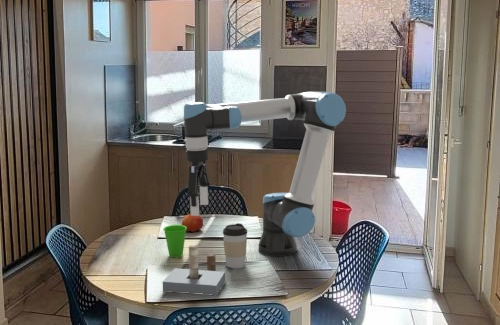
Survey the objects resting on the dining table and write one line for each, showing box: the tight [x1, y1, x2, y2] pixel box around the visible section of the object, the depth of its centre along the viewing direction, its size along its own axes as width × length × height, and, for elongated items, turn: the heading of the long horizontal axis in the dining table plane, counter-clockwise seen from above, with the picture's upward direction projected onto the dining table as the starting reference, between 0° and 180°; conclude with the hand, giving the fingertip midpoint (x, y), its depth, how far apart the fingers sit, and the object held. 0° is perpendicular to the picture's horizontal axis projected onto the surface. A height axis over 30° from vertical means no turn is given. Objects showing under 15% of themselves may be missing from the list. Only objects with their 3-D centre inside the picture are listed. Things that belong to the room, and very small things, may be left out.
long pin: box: [188, 244, 199, 280], centre depth 180 cm, size 3×3×14 cm
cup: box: [163, 224, 187, 258], centre depth 211 cm, size 9×9×11 cm
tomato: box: [181, 213, 204, 233], centre depth 242 cm, size 9×9×8 cm
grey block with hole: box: [162, 267, 226, 296], centre depth 181 cm, size 18×12×4 cm, turn 79°
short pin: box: [206, 253, 217, 271], centre depth 194 cm, size 3×3×6 cm
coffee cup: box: [222, 223, 248, 269], centre depth 200 cm, size 9×9×15 cm
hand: (199, 209), depth 187 cm, fingers open, 13 cm apart
